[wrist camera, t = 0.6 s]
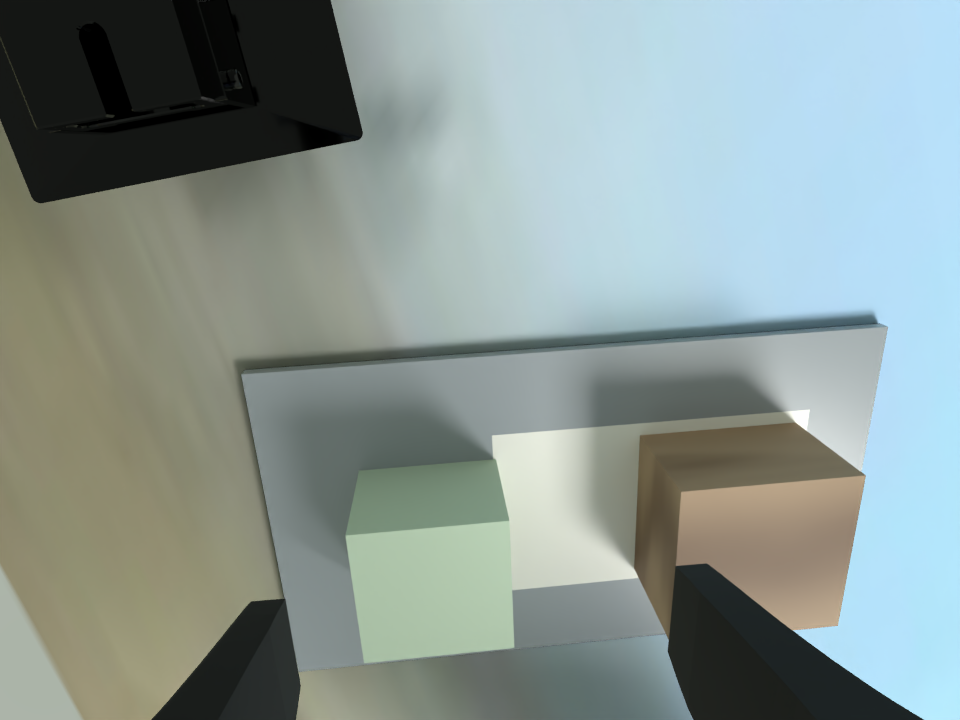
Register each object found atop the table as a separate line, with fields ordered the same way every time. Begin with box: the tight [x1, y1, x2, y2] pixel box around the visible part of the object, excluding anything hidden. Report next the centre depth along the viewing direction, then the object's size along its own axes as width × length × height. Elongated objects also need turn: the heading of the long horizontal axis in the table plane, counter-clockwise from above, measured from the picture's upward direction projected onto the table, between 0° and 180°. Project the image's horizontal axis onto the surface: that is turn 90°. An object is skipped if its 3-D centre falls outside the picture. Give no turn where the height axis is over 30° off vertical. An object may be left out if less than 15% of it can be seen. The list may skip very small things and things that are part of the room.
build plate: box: [241, 323, 888, 672], centre depth 22 cm, size 12×21×1 cm, turn 93°
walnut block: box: [634, 422, 866, 639], centre depth 20 cm, size 6×6×4 cm
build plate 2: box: [0, 0, 363, 203], centre depth 15 cm, size 12×7×5 cm, turn 100°
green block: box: [345, 459, 514, 663], centre depth 20 cm, size 5×5×4 cm
